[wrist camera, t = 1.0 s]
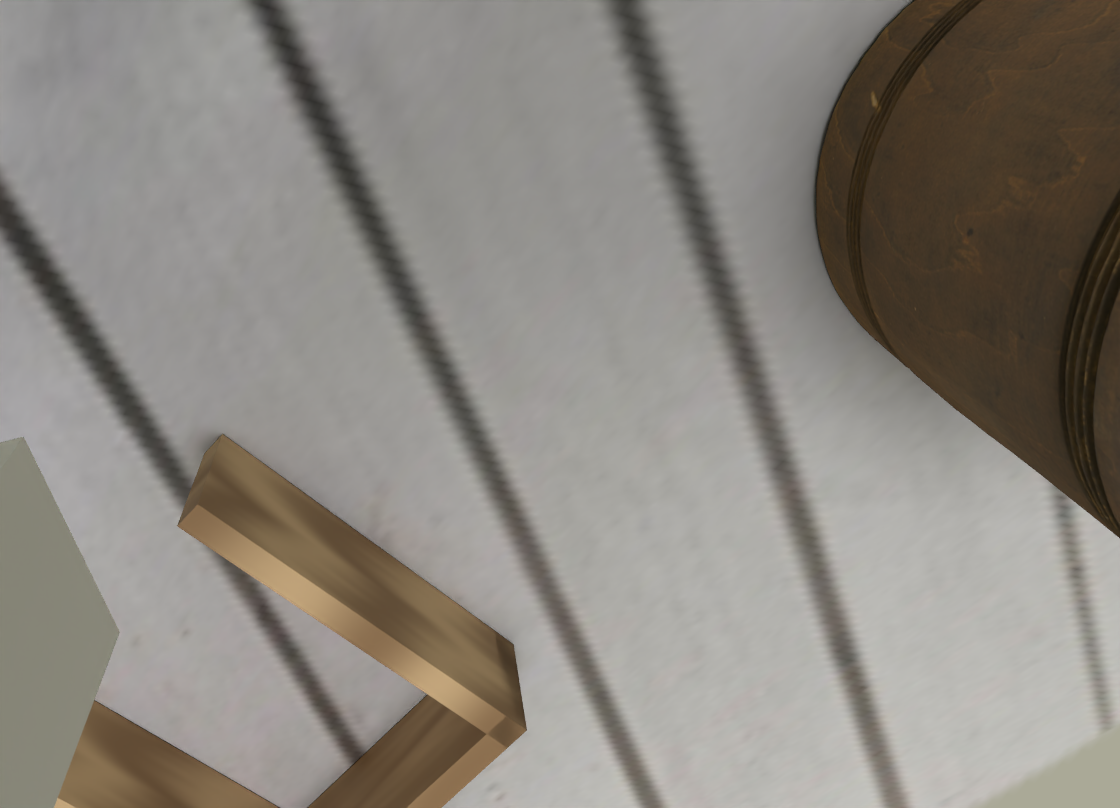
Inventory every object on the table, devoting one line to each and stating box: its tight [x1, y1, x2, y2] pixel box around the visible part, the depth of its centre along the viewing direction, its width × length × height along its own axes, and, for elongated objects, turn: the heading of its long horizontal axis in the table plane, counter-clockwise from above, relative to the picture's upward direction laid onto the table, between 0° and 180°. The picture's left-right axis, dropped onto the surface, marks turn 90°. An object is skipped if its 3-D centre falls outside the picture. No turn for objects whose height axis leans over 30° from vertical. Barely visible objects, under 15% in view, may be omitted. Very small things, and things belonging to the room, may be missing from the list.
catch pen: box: [54, 434, 527, 808], centre depth 39 cm, size 14×13×5 cm
